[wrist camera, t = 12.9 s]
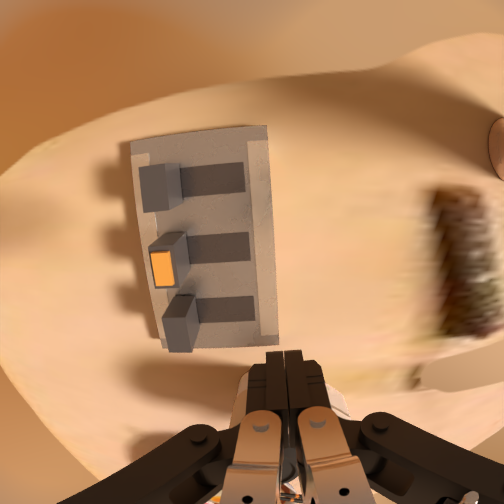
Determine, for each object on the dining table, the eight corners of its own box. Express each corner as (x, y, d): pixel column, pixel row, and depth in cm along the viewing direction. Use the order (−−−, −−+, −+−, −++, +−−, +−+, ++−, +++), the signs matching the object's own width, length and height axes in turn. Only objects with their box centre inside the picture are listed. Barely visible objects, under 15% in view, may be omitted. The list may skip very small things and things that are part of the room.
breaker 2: (194, 295, 33) (185, 317, 28) (199, 327, 34) (192, 352, 29) (173, 296, 33) (161, 317, 28) (179, 328, 34) (169, 352, 29)
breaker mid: (185, 232, 31) (171, 246, 26) (190, 269, 32) (178, 290, 27) (163, 233, 31) (145, 248, 26) (168, 270, 32) (152, 291, 27)
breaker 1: (179, 163, 29) (164, 163, 24) (182, 202, 30) (169, 210, 25) (156, 166, 29) (138, 167, 24) (160, 205, 30) (143, 213, 25)
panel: (265, 127, 30) (266, 124, 28) (278, 336, 37) (279, 345, 35) (136, 142, 31) (129, 141, 29) (166, 339, 37) (162, 348, 35)
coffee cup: (228, 360, 38) (216, 451, 23) (299, 358, 38) (317, 448, 23) (233, 408, 40) (226, 494, 26) (296, 406, 40) (308, 491, 26)
